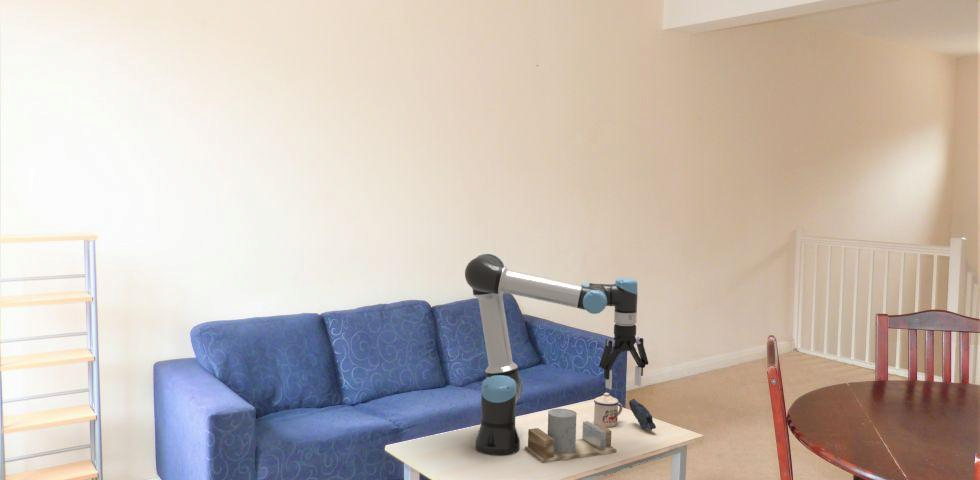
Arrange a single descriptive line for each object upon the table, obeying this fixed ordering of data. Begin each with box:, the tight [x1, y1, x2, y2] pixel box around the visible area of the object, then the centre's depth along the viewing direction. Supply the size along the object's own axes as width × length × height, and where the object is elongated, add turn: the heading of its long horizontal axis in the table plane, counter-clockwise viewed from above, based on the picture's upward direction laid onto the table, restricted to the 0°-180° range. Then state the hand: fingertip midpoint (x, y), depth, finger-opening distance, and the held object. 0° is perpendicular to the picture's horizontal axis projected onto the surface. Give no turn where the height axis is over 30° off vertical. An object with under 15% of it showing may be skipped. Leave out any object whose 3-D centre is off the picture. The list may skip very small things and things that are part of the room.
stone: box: [628, 398, 657, 431], centre depth 285 cm, size 14×6×10 cm, turn 39°
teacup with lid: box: [593, 392, 623, 428], centre depth 290 cm, size 12×9×12 cm
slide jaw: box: [581, 420, 612, 450], centre depth 265 cm, size 6×12×6 cm, turn 23°
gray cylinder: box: [547, 408, 578, 454], centre depth 259 cm, size 10×10×12 cm
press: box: [524, 427, 617, 463], centre depth 260 cm, size 28×13×7 cm, turn 113°
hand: (623, 386), depth 267 cm, fingers open, 11 cm apart
